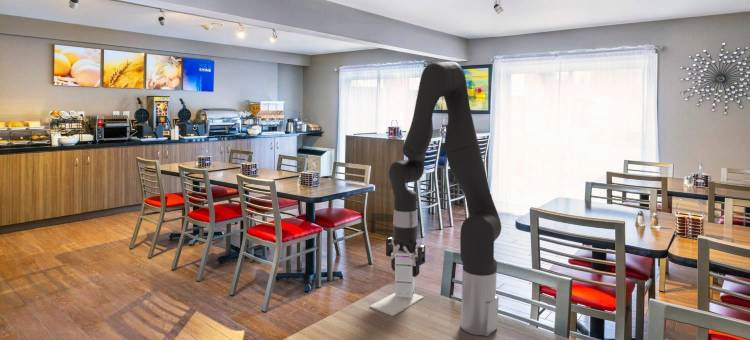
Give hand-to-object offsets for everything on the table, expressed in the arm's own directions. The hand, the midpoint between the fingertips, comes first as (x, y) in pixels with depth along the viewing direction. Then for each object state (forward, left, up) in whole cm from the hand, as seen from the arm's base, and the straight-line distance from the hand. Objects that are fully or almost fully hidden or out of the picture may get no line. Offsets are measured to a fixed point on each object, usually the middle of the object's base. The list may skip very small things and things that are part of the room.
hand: (404, 272), depth 150 cm
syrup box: (0, 0, -7) cm, 7 cm away
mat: (0, +4, -9) cm, 9 cm away
